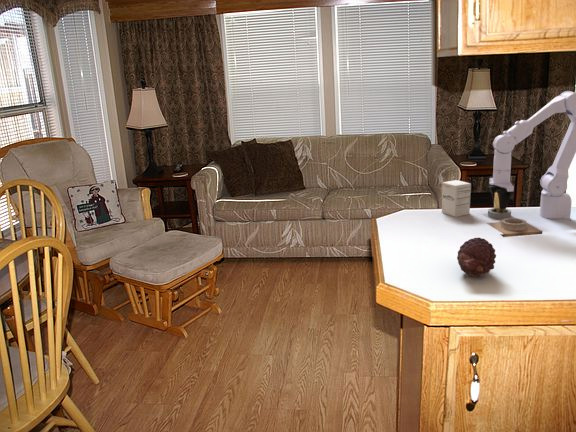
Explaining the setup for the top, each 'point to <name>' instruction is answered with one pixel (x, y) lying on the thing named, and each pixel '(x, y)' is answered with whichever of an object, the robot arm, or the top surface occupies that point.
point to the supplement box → (456, 198)
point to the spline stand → (498, 215)
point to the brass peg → (497, 205)
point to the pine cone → (476, 257)
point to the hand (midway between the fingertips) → (499, 207)
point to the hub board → (516, 233)
